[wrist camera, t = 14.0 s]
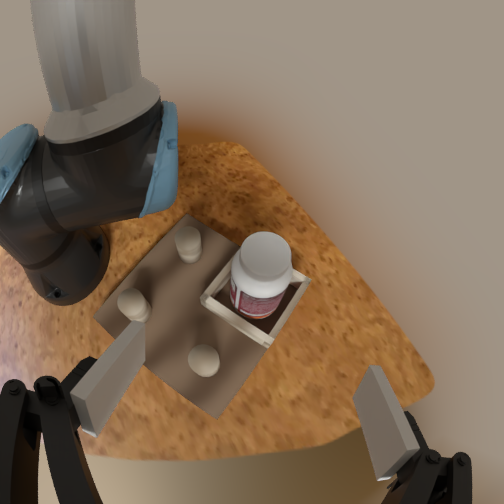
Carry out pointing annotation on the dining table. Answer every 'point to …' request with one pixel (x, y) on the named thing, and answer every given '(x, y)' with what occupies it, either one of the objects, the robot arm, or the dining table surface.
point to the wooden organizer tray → (195, 315)
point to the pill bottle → (260, 274)
